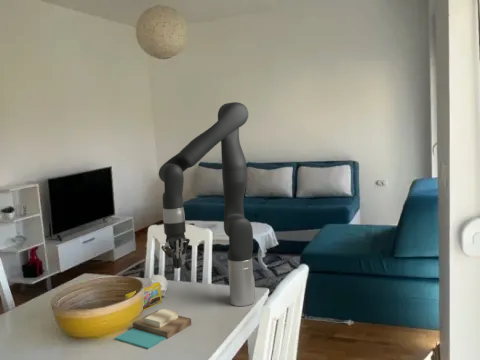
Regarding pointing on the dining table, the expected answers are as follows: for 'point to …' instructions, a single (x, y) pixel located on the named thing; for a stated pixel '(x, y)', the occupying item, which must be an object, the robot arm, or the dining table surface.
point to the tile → (161, 318)
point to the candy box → (149, 295)
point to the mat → (140, 338)
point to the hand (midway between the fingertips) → (177, 267)
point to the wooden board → (165, 330)
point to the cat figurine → (161, 280)
